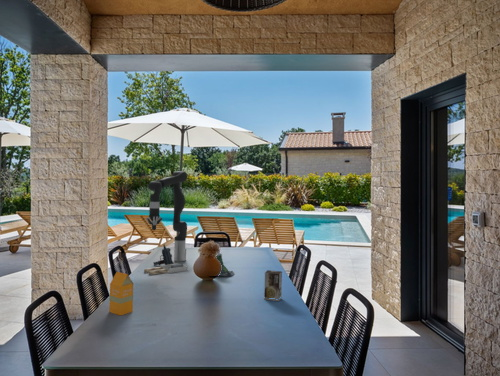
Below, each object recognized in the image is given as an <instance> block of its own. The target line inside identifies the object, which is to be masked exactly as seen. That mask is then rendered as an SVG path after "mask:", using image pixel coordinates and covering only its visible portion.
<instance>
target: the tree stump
mask: <svg viewBox="0 0 500 376" xmlns="http://www.w3.org/2000/svg"><path fill="white" fill-rule="evenodd" d="M217 254H218V253H217ZM216 257H217V259H218V260H219V261H220V263H221V265H222V270H221V273H220V275H219V276H218V278H219V277H220V278H230V277H232V276H235V272H234V271H233V270H231V271H230V270H229V269H228V268H227V266H226V265H224V261H223V254H222V253H219V254H218V255H217V256H216Z"/></svg>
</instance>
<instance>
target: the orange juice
mask: <svg viewBox="0 0 500 376" xmlns="http://www.w3.org/2000/svg"><path fill="white" fill-rule="evenodd" d="M133 306H134V282H133V281H132V278H130V276H129V274H128V273H124V272H121V271H120V272H119V271H116V273H115V274H114V275H113V278H112V280H111V281H110V283H109V307H108V308H109V311H108V312H109V313H111V314H114V315H118V316H123V315H126V314H130V313H132V312H133V308H134V307H133Z"/></svg>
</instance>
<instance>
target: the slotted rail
mask: <svg viewBox="0 0 500 376" xmlns="http://www.w3.org/2000/svg"><path fill="white" fill-rule="evenodd" d="M168 272H169V269H163V267H161V266H158V267H157V266H155V267H152V268H151V267H150V268H144V270H143V273H145V274H146V273H147V274H148V275H149V276H152V275H159V274H160V275H161V274H166V273H167V274H168Z"/></svg>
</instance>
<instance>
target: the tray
mask: <svg viewBox="0 0 500 376" xmlns="http://www.w3.org/2000/svg"><path fill="white" fill-rule="evenodd" d="M175 264H180V263H179V262H178V263H175ZM171 265H172V264H168V265H165V264H161V265H160V267H163V269H168V272H167V274H173V273H179V272H185V271H188V266H187V265H185V264H183V267H178V268H171Z"/></svg>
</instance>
